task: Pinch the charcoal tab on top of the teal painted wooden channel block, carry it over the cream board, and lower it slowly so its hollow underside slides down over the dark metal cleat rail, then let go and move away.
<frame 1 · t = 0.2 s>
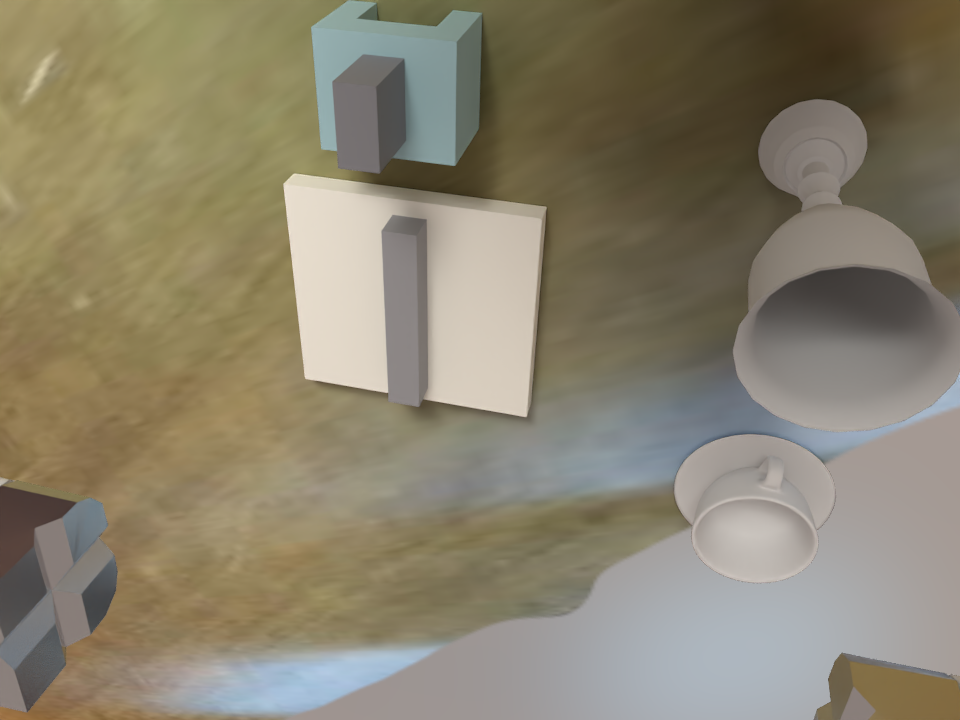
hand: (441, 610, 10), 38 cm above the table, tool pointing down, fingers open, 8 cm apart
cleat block: (415, 66, 46), on the table
teacup: (752, 486, 58), on the table
cleat board: (418, 294, 55), on the table
chalice: (811, 147, 44), on the table
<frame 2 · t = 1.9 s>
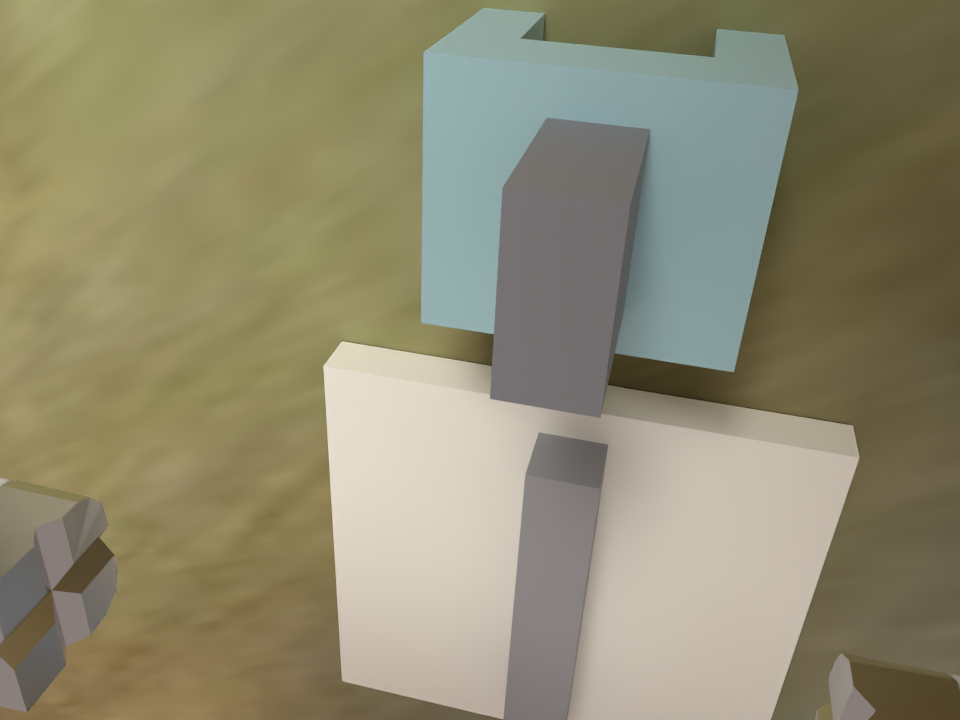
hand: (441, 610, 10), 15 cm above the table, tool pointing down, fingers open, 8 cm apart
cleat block: (613, 146, 22), on the table
cleat board: (562, 557, 29), on the table
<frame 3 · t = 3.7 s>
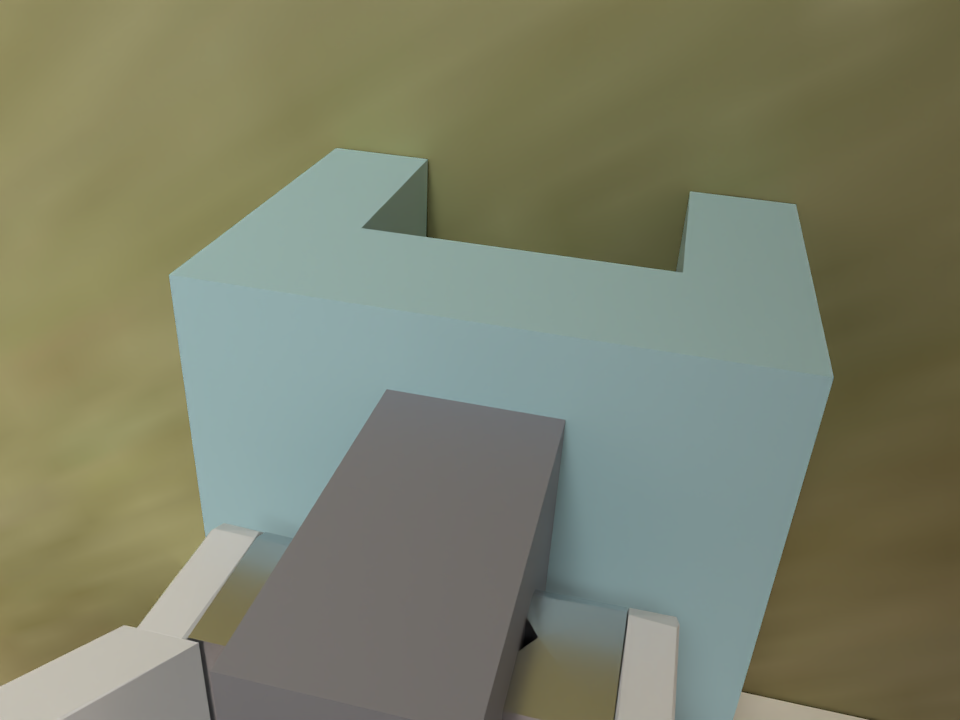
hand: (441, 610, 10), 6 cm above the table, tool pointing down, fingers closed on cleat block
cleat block: (539, 347, 15), on the table, touching gripper
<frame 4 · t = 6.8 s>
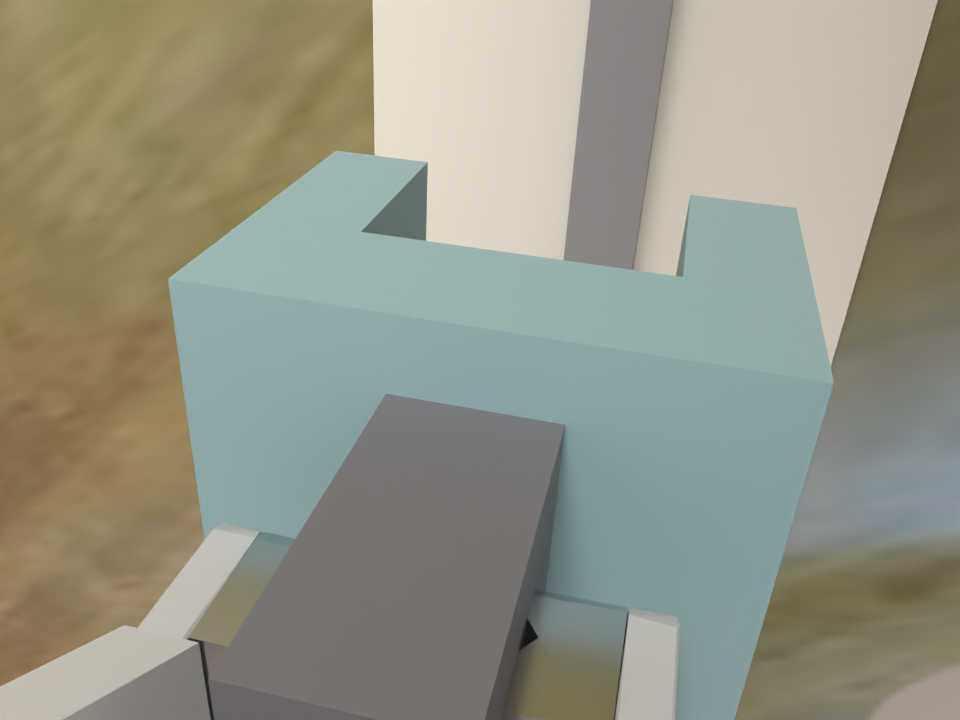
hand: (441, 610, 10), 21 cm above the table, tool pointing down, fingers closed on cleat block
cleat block: (538, 351, 15), point 15 cm above the table, touching gripper
cleat board: (623, 119, 27), on the table
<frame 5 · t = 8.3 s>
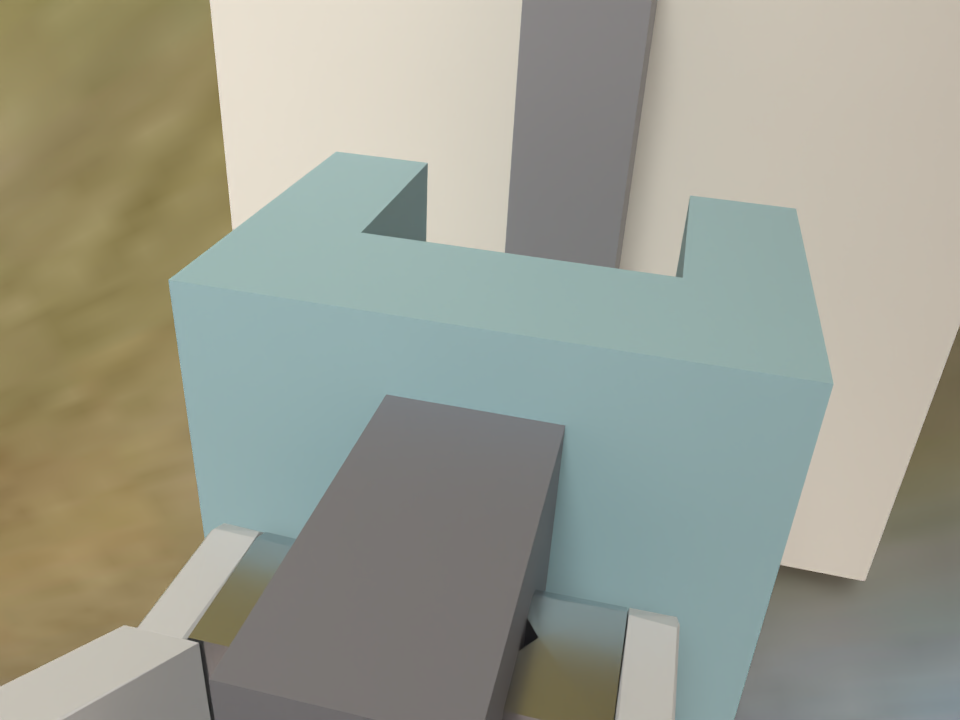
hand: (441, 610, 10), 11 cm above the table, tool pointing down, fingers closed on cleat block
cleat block: (538, 351, 15), point 5 cm above the table, touching gripper
cleat board: (581, 227, 19), on the table
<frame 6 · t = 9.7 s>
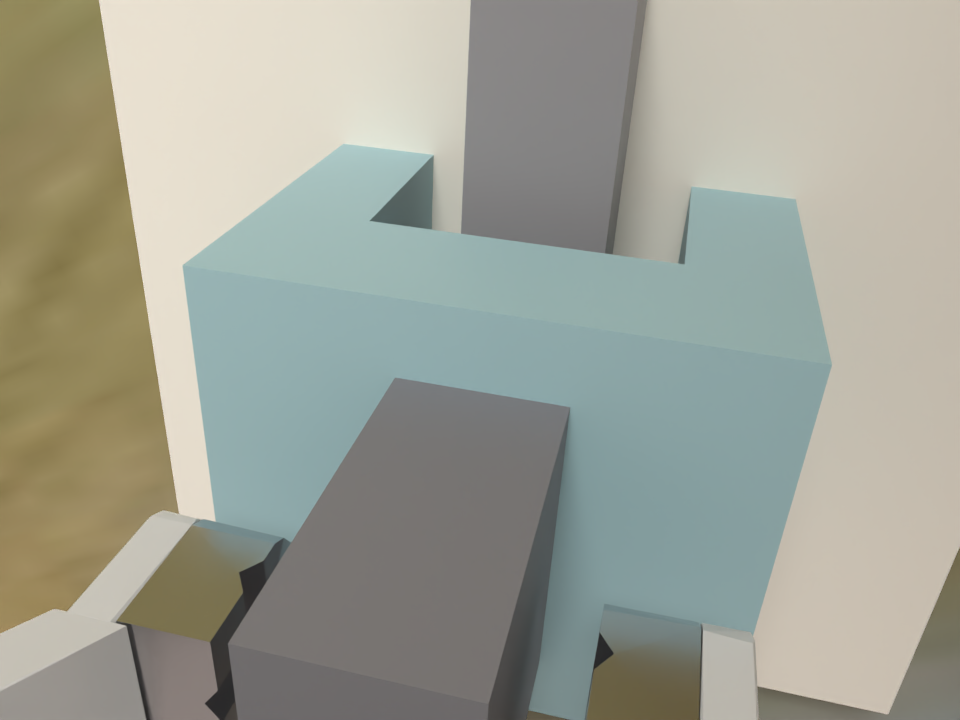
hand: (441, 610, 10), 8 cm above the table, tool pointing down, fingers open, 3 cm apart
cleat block: (542, 341, 15), point 1 cm above the table, touching cleat board
cleat board: (554, 304, 16), on the table
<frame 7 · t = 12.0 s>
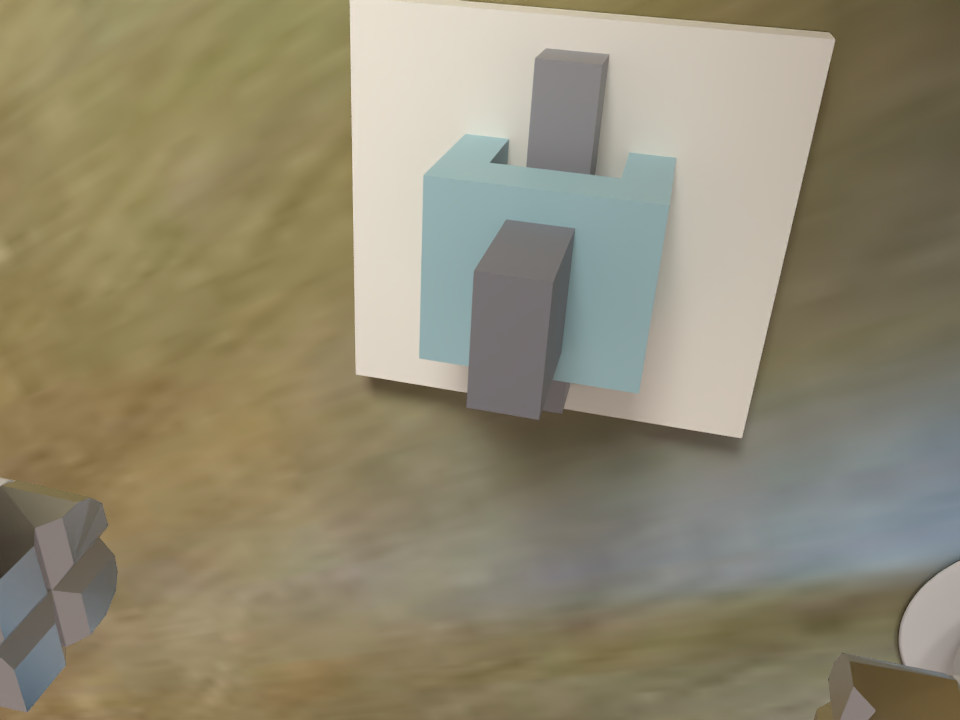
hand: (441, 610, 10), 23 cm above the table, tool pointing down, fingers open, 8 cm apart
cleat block: (559, 231, 31), point 1 cm above the table, touching cleat board
cleat board: (565, 218, 32), on the table
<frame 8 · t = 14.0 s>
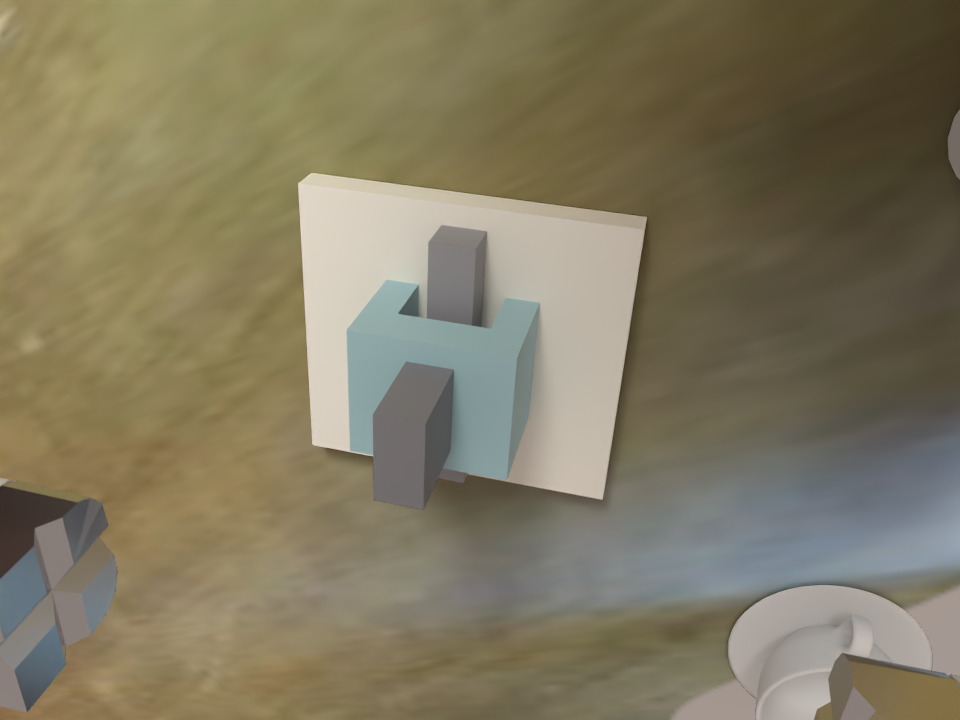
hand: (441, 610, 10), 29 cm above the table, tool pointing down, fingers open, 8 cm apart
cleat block: (459, 349, 41), point 1 cm above the table, touching cleat board
teacup: (825, 647, 47), on the table
cleat board: (466, 335, 42), on the table
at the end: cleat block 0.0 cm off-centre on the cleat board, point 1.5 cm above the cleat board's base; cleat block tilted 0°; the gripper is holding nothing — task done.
